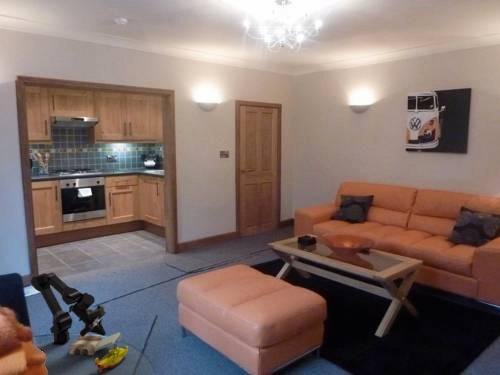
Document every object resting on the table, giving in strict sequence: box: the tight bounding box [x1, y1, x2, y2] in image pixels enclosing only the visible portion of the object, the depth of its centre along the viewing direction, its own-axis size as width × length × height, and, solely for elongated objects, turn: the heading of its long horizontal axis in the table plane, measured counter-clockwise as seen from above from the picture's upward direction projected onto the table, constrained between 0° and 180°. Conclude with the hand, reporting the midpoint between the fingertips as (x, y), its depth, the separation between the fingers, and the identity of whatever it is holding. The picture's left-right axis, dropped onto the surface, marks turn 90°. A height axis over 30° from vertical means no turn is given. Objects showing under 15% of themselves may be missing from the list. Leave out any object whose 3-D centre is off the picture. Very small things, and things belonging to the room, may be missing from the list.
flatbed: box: [68, 333, 103, 356], centre depth 199 cm, size 12×11×5 cm
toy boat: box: [94, 343, 129, 374], centre depth 186 cm, size 6×18×10 cm, turn 152°
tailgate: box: [94, 332, 123, 352], centre depth 199 cm, size 2×10×12 cm
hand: (105, 334), depth 198 cm, fingers closed
